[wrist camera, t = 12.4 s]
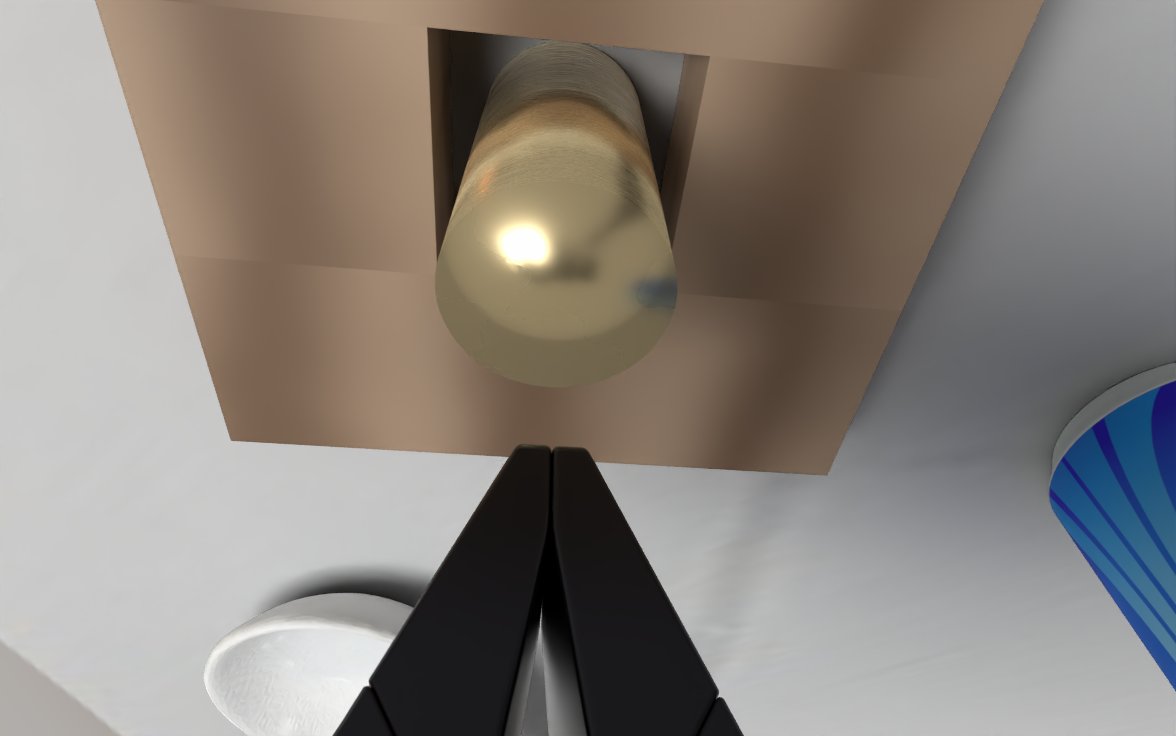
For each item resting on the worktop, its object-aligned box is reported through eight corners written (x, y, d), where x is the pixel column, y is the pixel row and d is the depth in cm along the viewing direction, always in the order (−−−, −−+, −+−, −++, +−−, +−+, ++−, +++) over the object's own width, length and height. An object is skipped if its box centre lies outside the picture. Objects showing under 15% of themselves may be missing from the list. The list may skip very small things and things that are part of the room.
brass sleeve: (653, 49, 17) (699, 193, 10) (630, 203, 19) (656, 394, 13) (485, 32, 16) (429, 170, 10) (483, 191, 19) (438, 380, 13)
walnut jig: (1084, -309, 13) (1197, -336, 11) (802, 410, 24) (826, 475, 22) (62, -459, 12) (-68, -527, 9) (266, 375, 23) (230, 440, 20)
